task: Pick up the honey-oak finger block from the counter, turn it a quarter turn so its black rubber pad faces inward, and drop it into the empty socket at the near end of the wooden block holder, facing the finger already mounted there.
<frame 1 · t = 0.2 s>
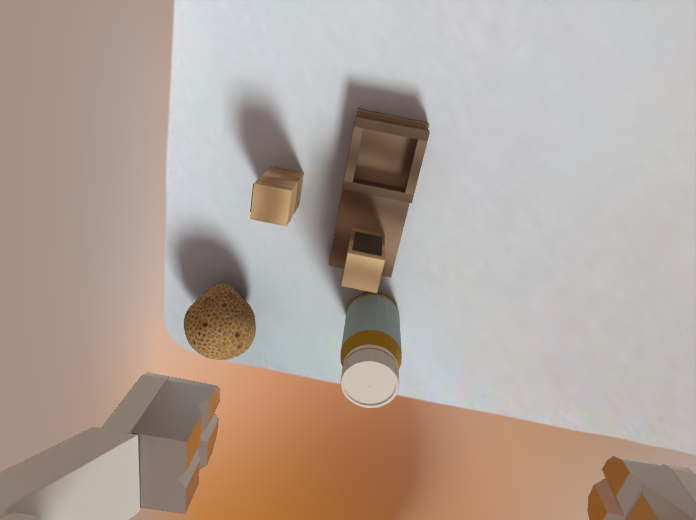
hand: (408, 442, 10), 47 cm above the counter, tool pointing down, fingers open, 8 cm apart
natural sponge: (232, 304, 64), on the counter
finger block: (285, 185, 57), on the counter
wooden block holder: (375, 196, 56), on the counter
bottle: (372, 312, 63), on the counter
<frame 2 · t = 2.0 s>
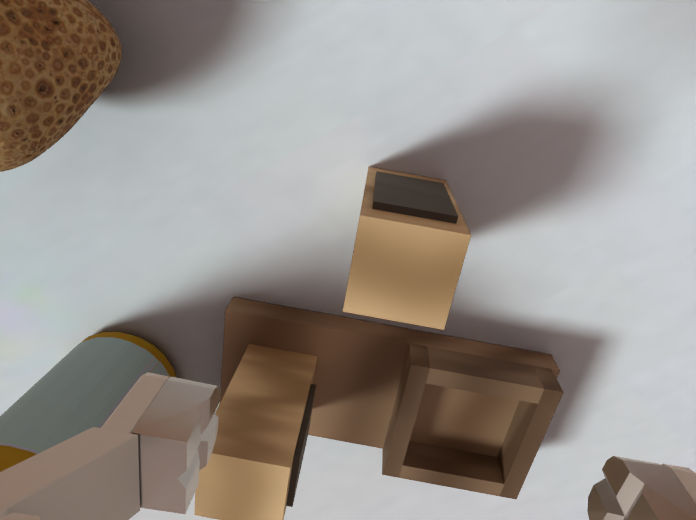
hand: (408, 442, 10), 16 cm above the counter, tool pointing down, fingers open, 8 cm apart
natural sponge: (59, 49, 23), on the counter
finger block: (399, 210, 25), on the counter
wooden block holder: (379, 379, 29), on the counter
bottle: (131, 370, 31), on the counter
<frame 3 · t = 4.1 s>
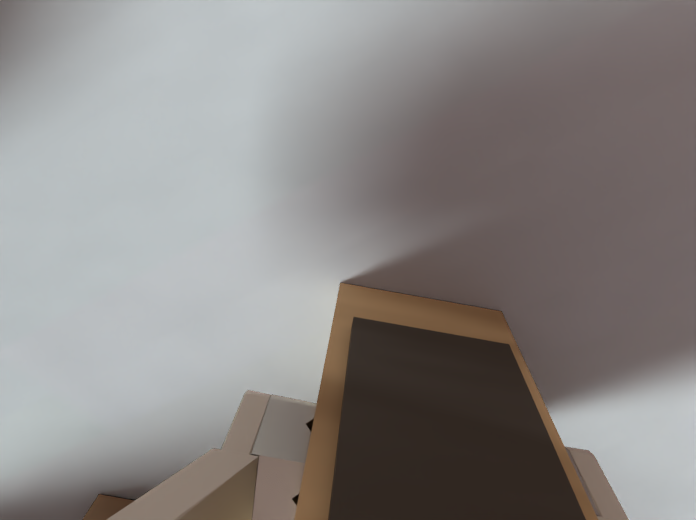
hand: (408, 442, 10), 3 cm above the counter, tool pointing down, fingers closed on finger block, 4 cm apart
finger block: (403, 363, 12), on the counter, touching gripper
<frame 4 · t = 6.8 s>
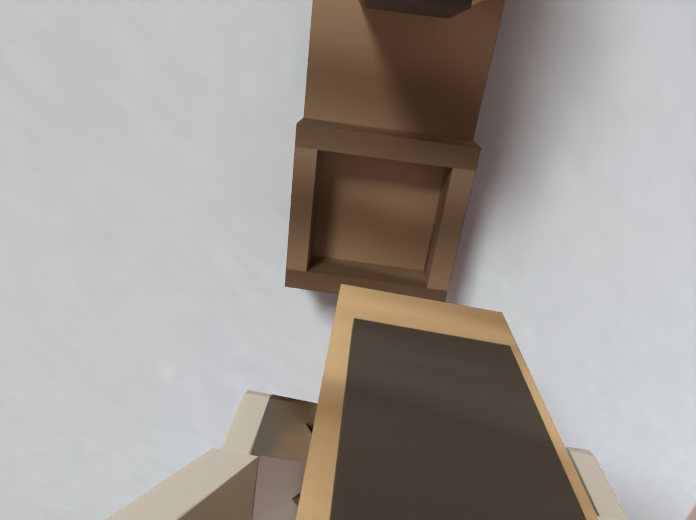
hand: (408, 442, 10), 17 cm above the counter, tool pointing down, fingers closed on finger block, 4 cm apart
finger block: (404, 364, 12), point 14 cm above the counter, touching gripper
wooden block holder: (390, 103, 23), on the counter
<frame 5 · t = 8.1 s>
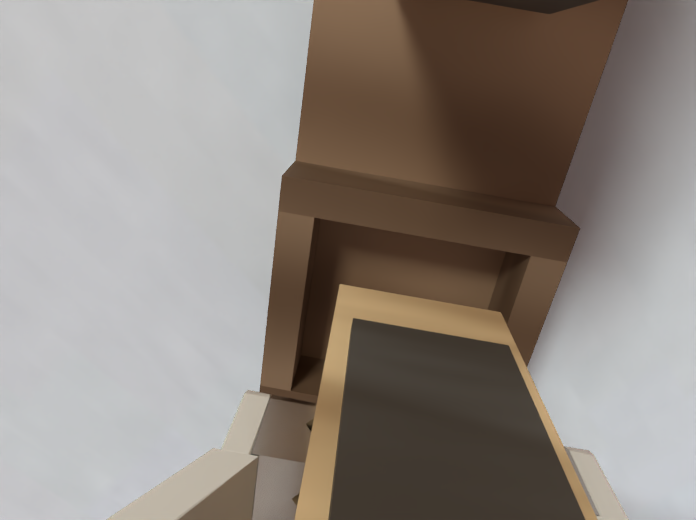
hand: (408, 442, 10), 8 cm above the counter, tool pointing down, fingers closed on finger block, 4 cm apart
finger block: (403, 364, 12), point 5 cm above the counter, touching gripper
wooden block holder: (428, 142, 15), on the counter
when the fingers open (5 cm above the counter, at t = 9.4 s): finger block stays where it is, resting on wooden block holder.
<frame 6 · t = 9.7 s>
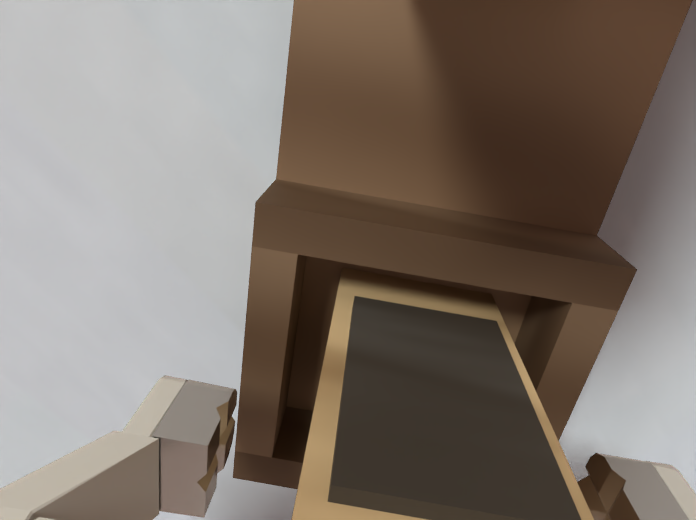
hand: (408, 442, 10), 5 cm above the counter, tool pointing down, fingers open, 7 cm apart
finger block: (401, 343, 13), point 1 cm above the counter, touching wooden block holder
wooden block holder: (439, 155, 12), on the counter
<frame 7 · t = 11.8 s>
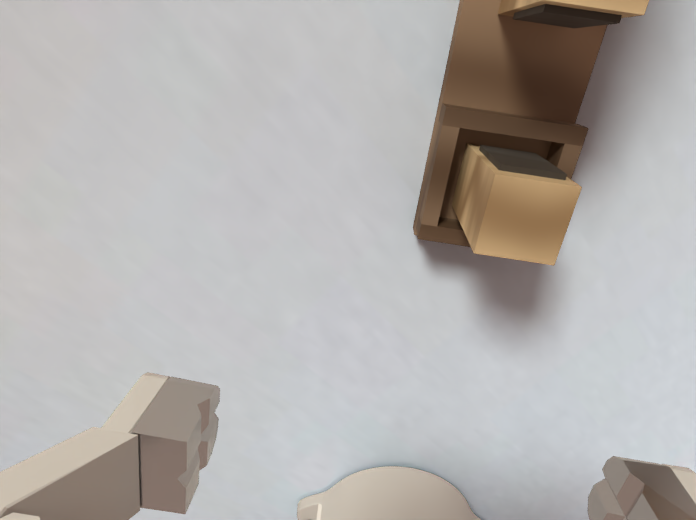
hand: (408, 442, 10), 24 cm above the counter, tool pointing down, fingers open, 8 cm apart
finger block: (490, 179, 29), point 1 cm above the counter, touching wooden block holder
wooden block holder: (506, 93, 29), on the counter
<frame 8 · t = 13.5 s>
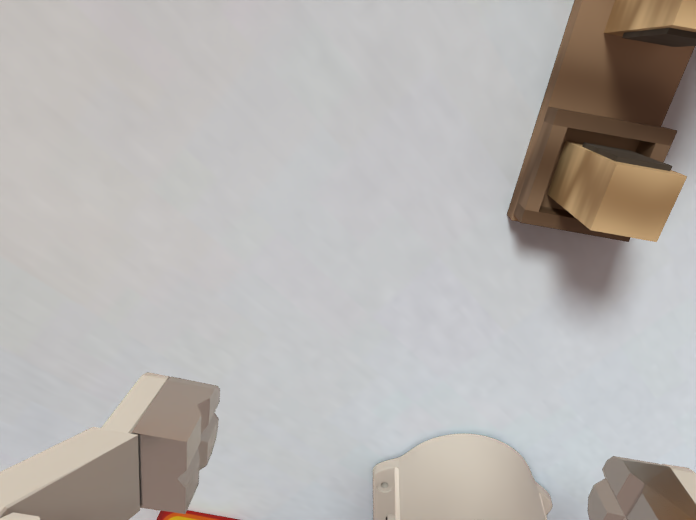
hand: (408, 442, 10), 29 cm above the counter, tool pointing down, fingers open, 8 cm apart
finger block: (583, 173, 34), point 1 cm above the counter, touching wooden block holder
wooden block holder: (600, 99, 34), on the counter
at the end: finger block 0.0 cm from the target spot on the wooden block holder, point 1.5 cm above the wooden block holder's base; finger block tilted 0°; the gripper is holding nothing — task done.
